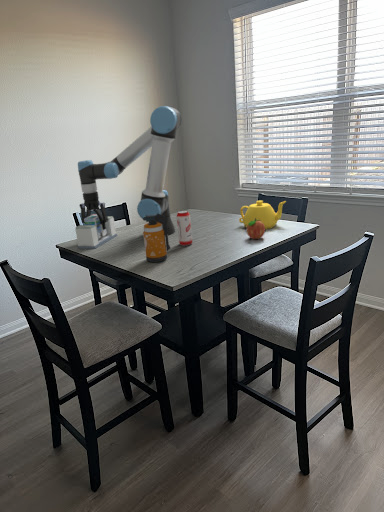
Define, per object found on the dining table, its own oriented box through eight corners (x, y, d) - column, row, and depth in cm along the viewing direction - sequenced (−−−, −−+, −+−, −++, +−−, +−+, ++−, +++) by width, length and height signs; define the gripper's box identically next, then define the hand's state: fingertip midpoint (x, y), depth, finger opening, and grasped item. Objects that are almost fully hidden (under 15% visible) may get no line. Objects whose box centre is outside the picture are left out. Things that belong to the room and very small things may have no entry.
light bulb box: (98, 238, 199) (95, 218, 196) (86, 239, 201) (83, 218, 197) (107, 233, 209) (104, 213, 206) (96, 233, 211) (92, 213, 207)
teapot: (288, 222, 210) (288, 197, 206) (284, 231, 195) (283, 203, 190) (243, 222, 219) (242, 198, 215) (235, 230, 204) (233, 204, 199)
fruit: (269, 237, 187) (268, 216, 184) (257, 242, 180) (257, 221, 177) (254, 234, 193) (253, 215, 189) (242, 239, 186) (241, 219, 183)
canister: (146, 257, 173) (141, 213, 167) (171, 254, 174) (166, 210, 167) (146, 264, 165) (140, 217, 158) (172, 261, 165) (167, 215, 159)
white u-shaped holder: (117, 235, 215) (114, 216, 211) (95, 248, 194) (91, 227, 191) (101, 235, 218) (97, 216, 214) (78, 248, 197) (74, 227, 194)
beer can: (194, 242, 189) (191, 210, 184) (190, 246, 184) (186, 213, 179) (182, 242, 191) (179, 210, 186) (177, 246, 186) (174, 213, 181)
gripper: (110, 189, 198) (117, 233, 205) (77, 191, 204) (84, 233, 211) (103, 192, 191) (110, 237, 198) (68, 194, 197) (77, 237, 205)
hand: (97, 235), depth 205 cm, fingers closed on light bulb box, 7 cm apart
